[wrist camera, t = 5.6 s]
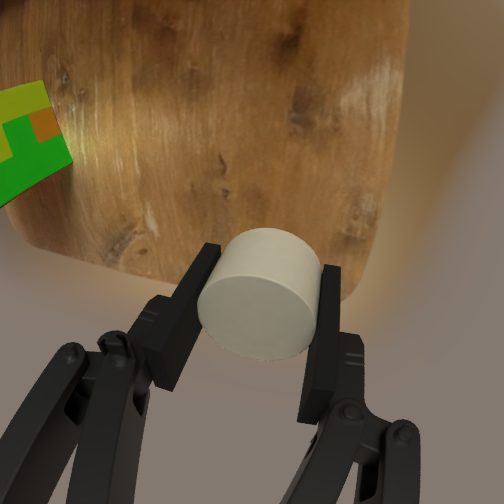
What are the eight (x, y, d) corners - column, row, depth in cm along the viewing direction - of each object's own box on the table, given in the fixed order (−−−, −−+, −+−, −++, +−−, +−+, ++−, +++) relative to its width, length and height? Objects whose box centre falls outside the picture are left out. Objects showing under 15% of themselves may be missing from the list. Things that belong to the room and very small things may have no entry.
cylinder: (331, 238, 13) (329, 290, 11) (311, 317, 16) (303, 369, 13) (221, 219, 14) (192, 263, 11) (221, 299, 17) (200, 346, 14)
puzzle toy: (2, 120, 25) (-61, 150, 17) (42, 79, 22) (-36, 104, 14) (29, 189, 30) (-29, 230, 22) (72, 161, 27) (0, 205, 18)
